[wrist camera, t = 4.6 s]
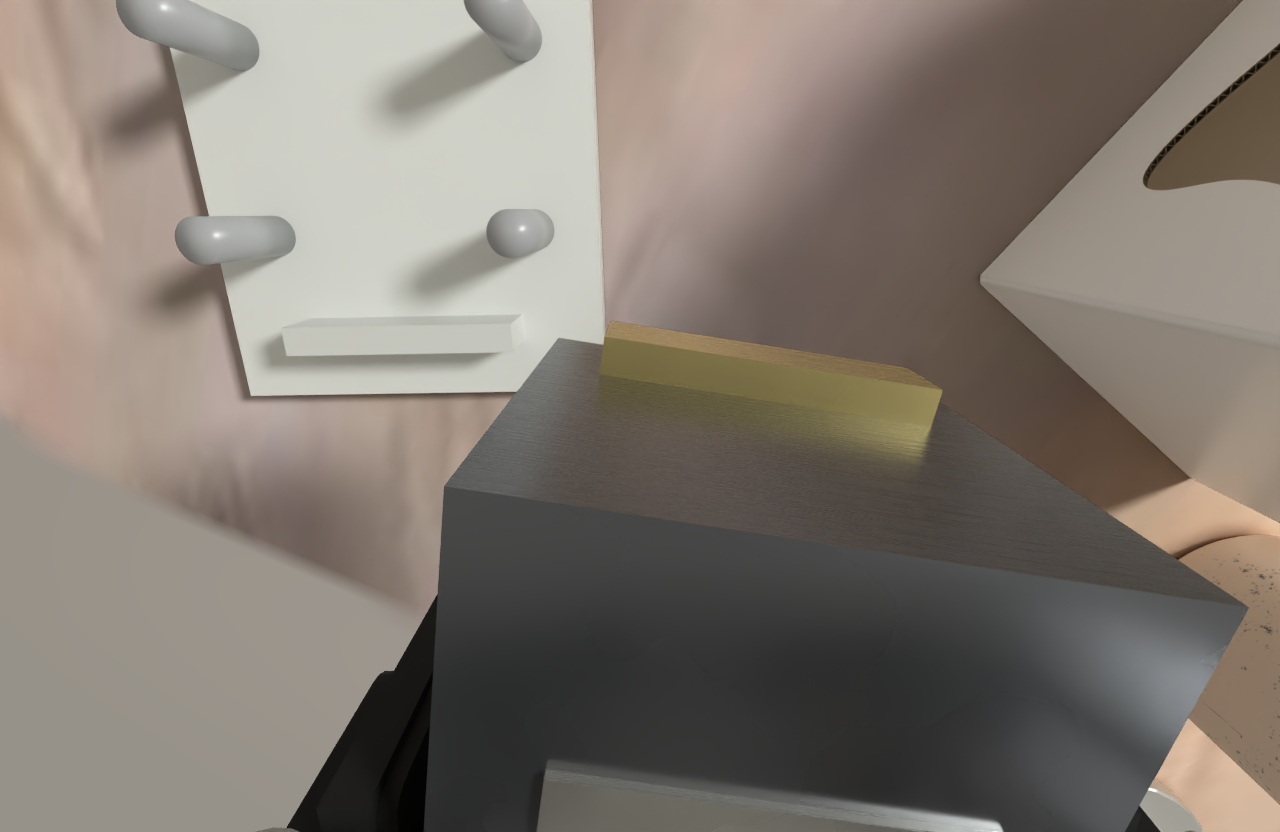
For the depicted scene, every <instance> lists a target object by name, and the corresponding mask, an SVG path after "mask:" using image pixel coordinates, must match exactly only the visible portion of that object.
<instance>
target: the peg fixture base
mask: <svg viewBox="0 0 1280 832" xmlns="http://www.w3.org/2000/svg"><path fill="white" fill-rule="evenodd" d="M116 7H117V11H118V14H119V17H120V19H121V21H122V22H123V24H124V25H125V26H126V28H127V29H128V30H129V31H130V32H132V33H133V34H134V35H136V36H138V37H140V38H143V39H146V40H149V41H152V42H155V43H158V44H161V45H164V46H167V47H170V50H171V55H172V59H173V63H174V68H175V72H176V76H177V80H178V85H179V89H180V93H181V98H182V102H183V106H184V111H185V115H186V119H187V123H188V128H189V132H190V136H191V141H192V145H193V149H194V153H195V158H196V162H197V166H198V171H199V175H200V179H201V183H202V188H203V192H204V196H205V201H206V205H207V209H208V213H209V216H196V217H187V218H185V219H183V220H181V221H180V222H179V224H178V225H177V227H176V230H175V241H176V244H177V247H178V249H179V250H180V252H181V253H182V254H183V255H184V257H186V258H187V259H188V260H189V261H191V262H193V263H196V264H199V265H209V264H218V263H220V265H221V269H222V273H223V278H224V282H225V286H226V291H227V295H228V299H229V303H230V308H231V312H232V316H233V321H234V325H235V329H236V333H237V338H238V342H239V346H240V351H241V355H242V359H243V363H244V368H245V372H246V376H247V381H248V385H249V389H250V393H251V396H271V395H335V394H399V393H463V392H517V391H518V390H519V388H520V387H521V386H522V384H523V383H524V382H525V381H526V379H527V378H528V377H529V375H530V374H531V373H532V372H533V370H534V369H535V368H536V366H537V365H538V364H539V362H540V361H541V360H542V359H543V357H544V356H545V355H546V353H547V352H548V351H549V349H550V348H551V347H552V346H553V344H554V343H555V342H556V340H557V339H558V338H564V339H570V340H577V341H583V342H589V343H596V344H602V345H603V343H604V336H605V334H606V330H605V306H604V281H603V256H602V232H601V207H600V183H599V158H598V134H597V109H596V85H595V60H594V36H593V11H592V0H116Z"/></svg>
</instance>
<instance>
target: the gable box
mask: <svg viewBox="0 0 1280 832" xmlns="http://www.w3.org/2000/svg"><path fill="white" fill-rule="evenodd" d="M980 284H981V285H982V286H983V287H984V288H985V289H986V290H987V291H988V292H989V293H990V294H992V295H993V296H994V297H995V298H996V299H997V300H998V301H999V302H1000V303H1001V304H1002V305H1003V306H1005V307H1006V308H1007V309H1008V310H1009V311H1010V312H1011V313H1012V314H1013V315H1014V316H1015V317H1017V318H1018V319H1019V320H1020V321H1021V322H1022V323H1023V324H1024V325H1025V326H1026V327H1027V328H1028V329H1030V330H1031V331H1032V332H1033V333H1034V334H1035V335H1036V336H1037V337H1038V338H1039V339H1040V340H1041V341H1043V342H1044V343H1045V344H1046V345H1047V346H1048V347H1049V348H1050V349H1051V350H1052V351H1053V352H1054V353H1056V354H1057V355H1058V356H1059V357H1060V358H1061V359H1062V360H1063V361H1064V362H1065V363H1066V364H1067V365H1069V366H1070V367H1071V368H1072V369H1073V370H1074V371H1075V372H1076V373H1077V374H1078V375H1079V376H1081V377H1082V378H1083V379H1084V380H1085V381H1086V382H1087V383H1088V384H1089V385H1090V386H1091V387H1092V388H1094V389H1095V390H1096V391H1097V392H1098V393H1099V394H1100V395H1101V396H1102V397H1103V398H1104V399H1105V400H1107V401H1108V402H1109V403H1110V404H1111V405H1112V406H1113V407H1114V408H1115V409H1116V410H1117V411H1118V412H1120V413H1121V414H1122V415H1123V416H1124V417H1125V418H1126V419H1127V420H1128V421H1129V422H1130V423H1132V424H1133V425H1134V426H1135V427H1136V428H1137V429H1138V430H1139V431H1140V432H1141V433H1142V434H1143V435H1145V436H1146V437H1147V438H1148V439H1149V440H1150V441H1151V442H1152V443H1153V444H1154V445H1155V446H1156V447H1158V448H1159V449H1160V450H1161V451H1162V452H1163V453H1164V454H1165V455H1166V456H1167V457H1168V458H1169V459H1171V460H1172V461H1173V462H1174V463H1175V464H1176V465H1177V466H1178V467H1179V468H1180V469H1181V470H1183V471H1184V472H1185V473H1186V474H1187V475H1188V476H1189V477H1190V478H1192V479H1194V480H1195V481H1197V482H1199V483H1201V484H1203V485H1205V486H1207V487H1209V488H1211V489H1213V490H1215V491H1217V492H1219V493H1221V494H1223V495H1225V496H1227V497H1229V498H1231V499H1233V500H1235V501H1237V502H1239V503H1241V504H1243V505H1245V506H1247V507H1249V508H1251V509H1253V510H1255V511H1257V512H1259V513H1261V514H1263V515H1265V516H1267V517H1269V518H1271V519H1273V520H1275V521H1277V522H1279V523H1280V0H1243V1H1242V2H1241V3H1240V4H1239V5H1238V6H1237V7H1236V8H1235V9H1234V10H1233V11H1232V12H1231V13H1230V14H1229V15H1228V16H1227V17H1226V18H1225V20H1224V21H1223V22H1222V23H1221V24H1220V25H1219V26H1218V27H1217V28H1216V29H1215V30H1214V31H1213V32H1212V33H1211V34H1210V35H1209V36H1208V37H1207V38H1206V39H1205V40H1204V42H1203V43H1202V44H1201V45H1200V46H1199V47H1198V48H1197V49H1196V50H1195V51H1194V52H1193V53H1192V54H1191V55H1190V56H1189V57H1188V58H1187V59H1186V60H1185V61H1184V62H1183V64H1182V65H1181V66H1180V67H1179V68H1178V69H1177V70H1176V71H1175V72H1174V73H1173V74H1172V75H1171V76H1170V77H1169V78H1168V79H1167V80H1166V81H1165V82H1164V83H1163V84H1162V85H1161V87H1160V88H1159V89H1158V90H1157V91H1156V92H1155V93H1154V94H1153V95H1152V96H1151V97H1150V98H1149V99H1148V100H1147V101H1146V102H1145V103H1144V104H1143V105H1142V106H1141V107H1140V109H1139V110H1138V111H1137V112H1136V113H1135V114H1134V115H1133V116H1132V117H1131V118H1130V119H1129V120H1128V121H1127V122H1126V123H1125V124H1124V125H1123V126H1122V127H1121V128H1120V129H1119V130H1118V132H1117V133H1116V134H1115V135H1114V136H1113V137H1112V138H1111V139H1110V140H1109V141H1108V142H1107V143H1106V144H1105V145H1104V146H1103V147H1102V148H1101V149H1100V150H1099V151H1098V152H1097V154H1096V155H1095V156H1094V157H1093V158H1092V159H1091V160H1090V161H1089V162H1088V163H1087V164H1086V165H1085V166H1084V167H1083V168H1082V169H1081V170H1080V171H1079V172H1078V173H1077V174H1076V176H1075V177H1074V178H1073V179H1072V180H1071V181H1070V182H1069V183H1068V184H1067V185H1066V186H1065V187H1064V188H1063V189H1062V190H1061V191H1060V192H1059V193H1058V194H1057V195H1056V196H1055V197H1054V199H1053V200H1052V201H1051V202H1050V203H1049V204H1048V205H1047V206H1046V207H1045V208H1044V209H1043V210H1042V211H1041V212H1040V213H1039V214H1038V215H1037V216H1036V217H1035V218H1034V219H1033V221H1032V222H1031V223H1030V224H1029V225H1028V226H1027V227H1026V228H1025V229H1024V230H1023V231H1022V232H1021V233H1020V234H1019V235H1018V236H1017V237H1016V238H1015V239H1014V240H1013V241H1012V243H1011V244H1010V245H1009V246H1008V247H1007V248H1006V249H1005V250H1004V251H1003V252H1002V253H1001V254H1000V255H999V256H998V257H997V258H996V259H995V260H994V261H993V262H992V263H991V264H990V266H989V267H988V268H987V269H986V270H985V271H984V272H983V273H982V274H981V275H980Z"/></svg>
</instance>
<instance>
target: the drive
mask: <svg viewBox="0 0 1280 832" xmlns="http://www.w3.org/2000/svg"><path fill="white" fill-rule="evenodd" d="M942 392H943V390H942V389H941V388H939V387H937V386H936V385H934V384H932V383H931V382H929V381H928V380H926V379H924V378H923V377H921V376H919V375H918V374H916V373H915V372H913V371H911V370H910V369H908V368H906V367H899V366H893V365H887V364H880V363H874V362H868V361H862V360H855V359H849V358H843V357H836V356H830V355H824V354H818V353H811V352H805V351H799V350H792V349H786V348H780V347H774V346H767V345H761V344H755V343H748V342H742V341H736V340H730V339H723V338H717V337H711V336H704V335H698V334H692V333H686V332H679V331H673V330H667V329H660V328H654V327H648V326H641V325H635V324H629V323H623V322H616V321H611V322H610V324H609V327H608V329H607V331H606V334H605V336H604V343H603V345H602V344H596V343H589V342H583V341H577V340H570V339H564V338H558V339H557V340H556V342H555V343H554V344H553V346H552V347H551V348H550V349H549V351H548V352H547V353H546V355H545V356H544V357H543V359H542V360H541V361H540V362H539V364H538V365H537V366H536V368H535V369H534V370H533V372H532V373H531V374H530V375H529V377H528V378H527V379H526V381H525V382H524V383H523V384H522V386H521V387H520V388H519V390H518V391H517V392H516V394H515V395H514V396H513V397H512V399H511V400H510V401H509V403H508V404H507V405H506V407H505V408H504V409H503V410H502V412H501V413H500V414H499V416H498V417H497V418H496V420H495V421H494V422H493V423H492V425H491V426H490V427H489V429H488V430H487V431H486V433H485V434H484V435H483V436H482V438H481V439H480V440H479V442H478V443H477V444H476V446H475V447H474V448H473V449H472V451H471V452H470V453H469V455H468V456H467V457H466V458H465V460H464V461H463V462H462V464H461V465H460V466H459V468H458V469H457V470H456V471H455V473H454V474H453V475H452V477H451V478H450V479H449V481H448V482H447V483H446V484H445V486H444V498H443V515H442V531H441V548H440V565H439V582H438V599H437V616H436V633H435V649H434V666H433V683H432V700H431V717H430V734H429V750H428V767H427V784H426V801H425V818H424V832H1125V830H1126V829H1127V827H1128V825H1129V823H1130V821H1131V820H1132V818H1133V816H1134V814H1135V812H1136V811H1137V809H1138V807H1139V805H1140V803H1141V802H1142V800H1143V798H1144V796H1145V794H1146V793H1147V791H1148V789H1149V787H1150V785H1151V784H1152V782H1153V780H1154V778H1155V776H1156V775H1157V773H1158V771H1159V769H1160V767H1161V766H1162V764H1163V762H1164V760H1165V758H1166V757H1167V755H1168V753H1169V751H1170V749H1171V748H1172V746H1173V744H1174V742H1175V740H1176V739H1177V737H1178V735H1179V733H1180V731H1181V730H1182V728H1183V726H1184V724H1185V722H1186V721H1187V719H1188V717H1189V715H1190V713H1191V712H1192V710H1193V708H1194V706H1195V704H1196V703H1197V701H1198V699H1199V697H1200V695H1201V694H1202V692H1203V690H1204V688H1205V686H1206V685H1207V683H1208V681H1209V679H1210V677H1211V676H1212V674H1213V672H1214V670H1215V668H1216V667H1217V665H1218V663H1219V661H1220V659H1221V658H1222V656H1223V654H1224V652H1225V650H1226V649H1227V647H1228V645H1229V643H1230V641H1231V640H1232V638H1233V636H1234V634H1235V632H1236V631H1237V629H1238V627H1239V625H1240V623H1241V622H1242V620H1243V618H1244V616H1245V614H1246V613H1247V611H1248V609H1249V607H1248V606H1246V605H1245V604H1243V603H1242V602H1240V601H1239V600H1237V599H1236V598H1234V597H1233V596H1231V595H1230V594H1228V593H1227V592H1225V591H1224V590H1222V589H1221V588H1219V587H1218V586H1216V585H1215V584H1213V583H1212V582H1210V581H1209V580H1207V579H1206V578H1204V577H1203V576H1201V575H1200V574H1198V573H1197V572H1195V571H1194V570H1192V569H1191V568H1189V567H1188V566H1186V565H1185V564H1183V563H1182V562H1180V561H1179V560H1177V559H1176V558H1174V557H1173V556H1171V555H1170V554H1168V553H1167V552H1165V551H1164V550H1162V549H1161V548H1159V547H1158V546H1156V545H1155V544H1153V543H1152V542H1150V541H1149V540H1147V539H1146V538H1144V537H1143V536H1141V535H1140V534H1138V533H1137V532H1135V531H1134V530H1132V529H1131V528H1129V527H1128V526H1126V525H1125V524H1123V523H1121V522H1120V521H1118V520H1117V519H1115V518H1114V517H1112V516H1111V515H1109V514H1108V513H1106V512H1105V511H1103V510H1102V509H1100V508H1099V507H1097V506H1096V505H1094V504H1093V503H1091V502H1090V501H1088V500H1087V499H1085V498H1084V497H1082V496H1081V495H1079V494H1078V493H1076V492H1075V491H1073V490H1072V489H1070V488H1069V487H1067V486H1066V485H1064V484H1063V483H1061V482H1060V481H1058V480H1057V479H1055V478H1054V477H1052V476H1051V475H1049V474H1048V473H1046V472H1045V471H1043V470H1042V469H1040V468H1039V467H1037V466H1036V465H1034V464H1033V463H1031V462H1030V461H1028V460H1027V459H1025V458H1024V457H1022V456H1021V455H1019V454H1018V453H1016V452H1015V451H1013V450H1012V449H1010V448H1009V447H1007V446H1006V445H1004V444H1003V443H1001V442H1000V441H998V440H997V439H995V438H994V437H992V436H991V435H989V434H987V433H986V432H984V431H983V430H981V429H980V428H978V427H977V426H975V425H974V424H972V423H971V422H969V421H968V420H966V419H965V418H963V417H962V416H960V415H959V414H957V413H956V412H954V411H953V410H951V409H950V408H948V407H947V406H945V405H944V404H942V403H941V402H939V401H940V398H941V395H942Z"/></svg>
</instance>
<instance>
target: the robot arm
mask: <svg viewBox="0 0 1280 832" xmlns="http://www.w3.org/2000/svg"><path fill="white" fill-rule="evenodd" d="M437 599H438V594H437V596H436V598H435V600H434V601H433V603H432V605H431V607H430V608H429V610H428V612H427V614H426V615H425V617H424V619H423V621H422V622H421V624H420V626H419V628H418V629H417V631H416V633H415V635H414V637H413V638H412V640H411V642H410V644H409V645H408V647H407V649H406V651H405V652H404V654H403V656H402V658H401V659H400V661H399V663H398V665H397V667H396V668H395V670H394V671H384V672H383V673H381V674H379V676H378V677H377V678H376V680H375V681H374V682H373V684H372V686H371V687H370V689H369V690H368V692H367V694H366V696H365V697H364V699H363V701H362V702H361V704H360V706H359V707H358V709H357V711H356V712H355V714H354V716H353V717H352V719H351V721H350V722H349V724H348V726H347V727H346V729H345V731H344V732H343V734H342V736H341V738H340V739H339V741H338V742H337V744H336V746H335V747H334V749H333V751H332V752H331V754H330V756H329V757H328V759H327V761H326V763H325V764H324V766H323V768H322V769H321V771H320V773H319V774H318V776H317V778H316V779H315V781H314V783H313V784H312V786H311V788H310V789H309V791H308V793H307V795H306V796H305V798H304V799H303V801H302V803H301V804H300V806H299V808H298V809H297V811H296V813H295V814H294V816H293V818H292V819H291V821H290V823H289V824H288V826H287V828H270V829H265V830H261V831H257V832H424V818H425V801H426V784H427V767H428V750H429V734H430V717H431V700H432V683H433V666H434V649H435V633H436V616H437ZM1125 832H1203V830H1202V827H1201V825H1200V823H1199V822H1198V821H1197V819H1196V818H1195V816H1194V815H1193V814H1192V812H1191V811H1190V810H1189V809H1188V808H1187V807H1186V806H1185V805H1184V804H1183V802H1182V801H1181V800H1180V799H1179V798H1178V797H1177V796H1176V795H1175V794H1174V793H1173V792H1172V791H1171V790H1170V789H1168V788H1167V787H1165V786H1164V785H1162V784H1160V783H1159V782H1157V781H1156V780H1153V782H1152V784H1151V785H1150V787H1149V789H1148V791H1147V793H1146V794H1145V796H1144V798H1143V800H1142V802H1141V803H1140V805H1139V807H1138V809H1137V811H1136V812H1135V814H1134V816H1133V818H1132V820H1131V821H1130V823H1129V825H1128V827H1127V829H1126V830H1125Z"/></svg>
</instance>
